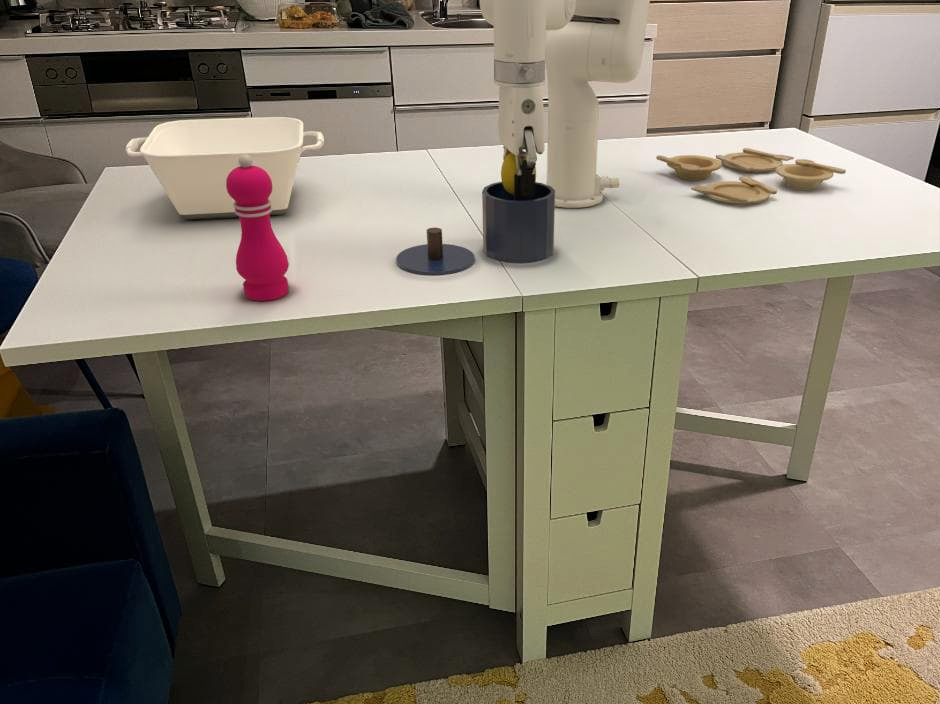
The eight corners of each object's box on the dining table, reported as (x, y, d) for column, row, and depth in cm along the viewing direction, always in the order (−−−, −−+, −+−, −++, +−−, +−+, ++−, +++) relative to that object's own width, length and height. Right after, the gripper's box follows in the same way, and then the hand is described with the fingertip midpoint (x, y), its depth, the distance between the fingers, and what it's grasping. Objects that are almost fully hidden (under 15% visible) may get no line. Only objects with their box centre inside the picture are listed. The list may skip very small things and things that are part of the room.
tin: (541, 239, 143) (542, 178, 138) (562, 262, 134) (564, 198, 129) (476, 244, 140) (475, 183, 135) (493, 269, 131) (492, 204, 126)
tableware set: (756, 154, 195) (759, 136, 192) (856, 187, 173) (860, 167, 171) (636, 174, 179) (638, 154, 177) (729, 212, 158) (732, 191, 155)
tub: (129, 233, 142) (110, 157, 136) (153, 188, 164) (138, 121, 158) (332, 221, 149) (323, 149, 142) (329, 179, 171) (322, 115, 165)
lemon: (532, 205, 130) (532, 154, 126) (497, 203, 131) (497, 151, 127) (539, 195, 134) (540, 145, 130) (505, 193, 135) (505, 142, 131)
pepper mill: (247, 283, 125) (223, 148, 114) (296, 282, 125) (276, 147, 115) (236, 303, 119) (209, 162, 108) (288, 302, 119) (266, 161, 109)
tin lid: (465, 247, 139) (464, 214, 137) (482, 274, 129) (482, 239, 126) (391, 253, 136) (388, 220, 133) (403, 282, 126) (400, 247, 123)
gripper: (561, 82, 117) (558, 208, 126) (527, 62, 131) (526, 177, 140) (510, 84, 115) (510, 212, 124) (480, 63, 129) (482, 180, 138)
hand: (518, 192), depth 132 cm, fingers closed on lemon, 5 cm apart
